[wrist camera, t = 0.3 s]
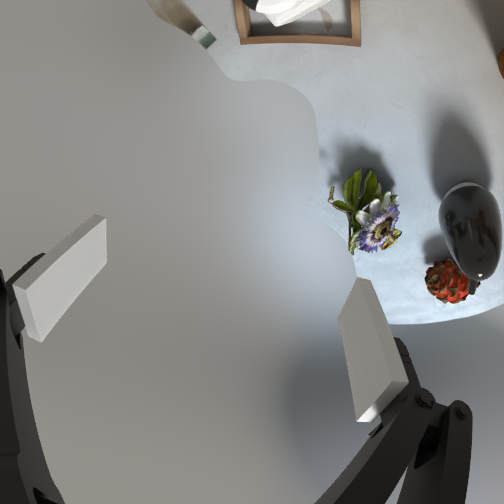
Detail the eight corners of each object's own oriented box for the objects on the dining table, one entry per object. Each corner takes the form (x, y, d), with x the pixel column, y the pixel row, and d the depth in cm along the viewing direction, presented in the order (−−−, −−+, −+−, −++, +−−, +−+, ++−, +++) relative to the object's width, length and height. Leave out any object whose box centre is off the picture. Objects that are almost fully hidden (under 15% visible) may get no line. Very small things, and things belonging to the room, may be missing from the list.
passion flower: (390, 186, 48) (399, 255, 46) (330, 192, 51) (336, 260, 49) (396, 158, 37) (411, 242, 35) (322, 165, 41) (330, 249, 39)
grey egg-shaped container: (433, 223, 43) (438, 299, 34) (437, 169, 36) (452, 243, 27) (486, 226, 39) (502, 302, 30) (497, 174, 32) (527, 248, 23)
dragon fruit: (420, 251, 50) (472, 254, 47) (415, 294, 52) (466, 295, 49) (434, 261, 42) (491, 264, 39) (426, 310, 44) (482, 310, 41)
